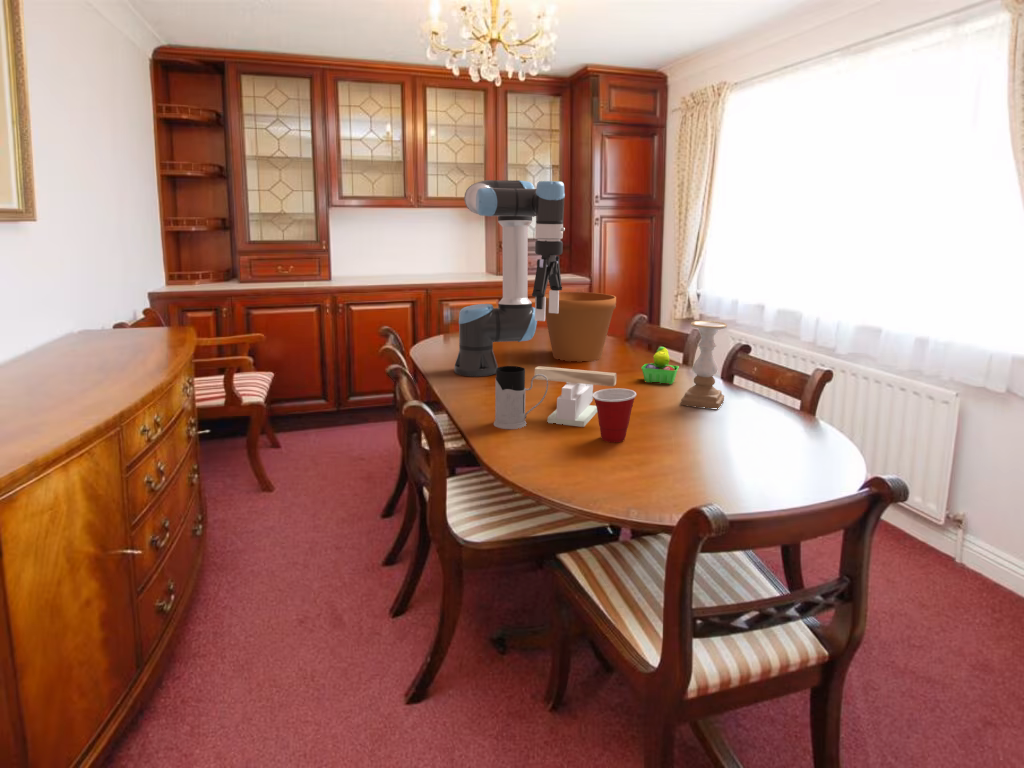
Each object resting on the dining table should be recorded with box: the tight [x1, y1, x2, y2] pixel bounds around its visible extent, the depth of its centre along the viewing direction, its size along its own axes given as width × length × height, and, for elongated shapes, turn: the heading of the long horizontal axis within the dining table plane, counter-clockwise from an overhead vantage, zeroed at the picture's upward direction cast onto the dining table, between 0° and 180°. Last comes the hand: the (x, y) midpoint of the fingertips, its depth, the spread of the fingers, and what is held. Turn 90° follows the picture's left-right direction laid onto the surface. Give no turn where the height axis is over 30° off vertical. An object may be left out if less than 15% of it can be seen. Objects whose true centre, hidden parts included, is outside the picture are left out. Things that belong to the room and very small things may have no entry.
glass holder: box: [493, 365, 549, 430], centre depth 182 cm, size 9×14×15 cm, turn 88°
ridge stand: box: [546, 382, 598, 428], centre depth 189 cm, size 16×10×10 cm, turn 160°
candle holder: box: [680, 320, 728, 409], centre depth 203 cm, size 11×11×24 cm
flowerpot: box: [544, 291, 617, 363], centre depth 267 cm, size 28×28×24 cm
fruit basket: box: [641, 346, 680, 385], centre depth 231 cm, size 11×9×11 cm
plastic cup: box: [592, 387, 637, 443], centre depth 171 cm, size 11×11×12 cm
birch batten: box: [534, 365, 617, 387], centre depth 188 cm, size 3×22×3 cm, turn 70°
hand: (546, 316), depth 195 cm, fingers open, 13 cm apart
